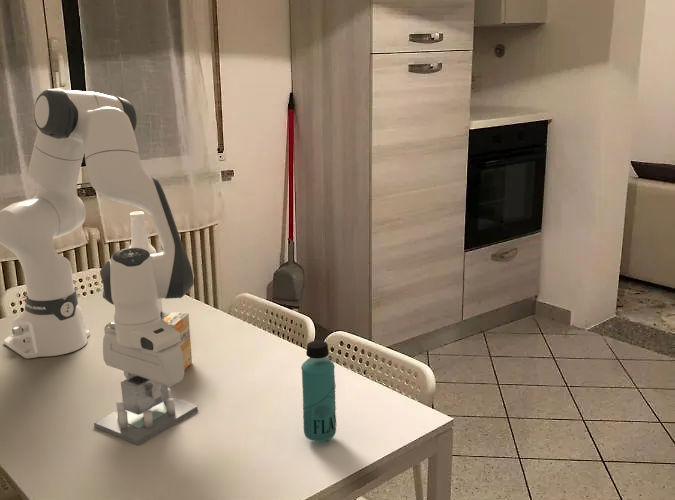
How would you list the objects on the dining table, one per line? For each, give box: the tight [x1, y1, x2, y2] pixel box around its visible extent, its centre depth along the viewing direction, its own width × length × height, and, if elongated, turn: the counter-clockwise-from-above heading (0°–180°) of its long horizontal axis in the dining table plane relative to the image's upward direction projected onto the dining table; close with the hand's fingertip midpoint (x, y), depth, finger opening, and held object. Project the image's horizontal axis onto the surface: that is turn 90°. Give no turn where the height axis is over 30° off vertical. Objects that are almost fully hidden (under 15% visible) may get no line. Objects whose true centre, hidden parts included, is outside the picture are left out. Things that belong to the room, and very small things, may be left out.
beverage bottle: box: [300, 340, 338, 442], centre depth 133 cm, size 6×7×20 cm
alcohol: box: [128, 210, 163, 314], centre depth 199 cm, size 9×9×30 cm
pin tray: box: [93, 387, 198, 446], centre depth 144 cm, size 13×16×4 cm
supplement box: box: [162, 311, 193, 371], centre depth 165 cm, size 8×5×13 cm, turn 168°
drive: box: [120, 375, 169, 415], centre depth 143 cm, size 4×8×6 cm, turn 147°
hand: (145, 393), depth 143 cm, fingers closed on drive, 4 cm apart
